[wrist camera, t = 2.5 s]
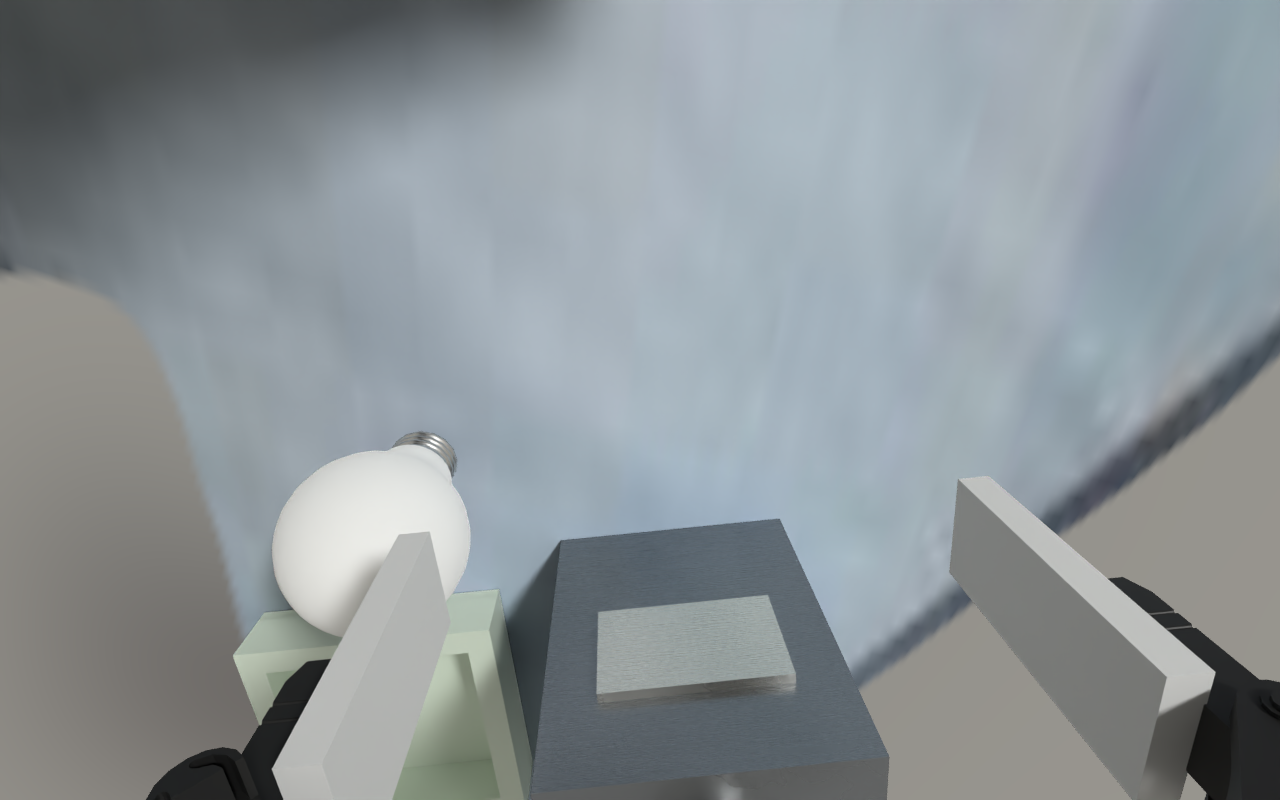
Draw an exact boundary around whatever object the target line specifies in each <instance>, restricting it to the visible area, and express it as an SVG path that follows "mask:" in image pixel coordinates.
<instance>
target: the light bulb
mask: <svg viewBox="0 0 1280 800" xmlns="http://www.w3.org/2000/svg"><path fill="white" fill-rule="evenodd" d="M456 467H457V458H456V455H455V452H454V449H453V448H452V447H451V445H450V444H449V443H448V442H447V441H446V440H445V439H444V438H442V437H440V436H438V435H436V434H434V433H429V432H423V431H419V432H414V433H410V434H406V435H405V436H403V437H402V438H401V439H399V440H398V441H396V443H395V445H393V447H392V449H390V450H388V451H367V452H359V453H356V454H352V455H349V456H346V457H343V458H340V459H337V460H334V461H332V462H330V463H329V464H327V465H325V466H323V467H321V468H320V469H318V470H317V471H316V472H315V473H313V474H312V475H311V476H310V477H308V478H307V479H306V480H305V481H304V482H303V483H302V484H300V485H299V486H298V487H297V489H296V490H295V492H294V493H293V494H292V496H291V497H290V499H289V500H288V502H287V503H286V505H285V506H284V508H283V509H282V512H281V514H280V517H279V519H278V522H277V524H276V528H275V532H274V537H273V545H272V557H273V566H274V573H275V577H276V580H277V583H278V586H279V588H280V590H281V592H282V593H283V595H284V597H285V598H286V600H287V602H288V603H289V604H290V605H291V607H292V608H293V609H294V610H295V611H296V612H297V613H298V614H299V616H300V617H302V618H303V619H304V620H306V621H307V622H308V623H309V624H311V625H313V626H314V627H316V628H318V629H320V630H322V631H324V632H326V633H329V634H332V635H335V636H338V637H343V636H344V635H345V633H346V631H347V629H348V627H349V625H350V624H351V622H352V620H353V618H354V616H355V614H356V612H357V611H358V609H359V607H360V605H361V603H362V601H363V599H364V598H365V596H366V594H367V592H368V590H369V588H370V587H371V585H372V583H373V581H374V579H375V577H376V575H377V574H378V572H379V570H380V568H381V566H382V564H383V562H384V561H385V559H386V557H387V555H388V553H389V551H390V550H391V548H392V546H393V544H394V542H395V540H396V538H397V537H398V535H399V534H409V533H419V532H429V531H430V535H431V539H432V543H433V548H434V552H435V556H436V561H437V565H438V569H439V574H440V578H441V582H442V587H443V591H444V595H445V600H446V601H447V600H448V598H449V597H450V596H451V595H452V594H453V592H454V590H455V588H456V586H457V585H458V583H459V581H460V579H461V577H462V575H463V573H464V571H465V569H466V565H467V561H468V556H469V551H470V539H471V530H470V526H469V521H468V516H467V512H466V508H465V506H464V503H463V501H462V499H461V497H460V495H459V493H458V492H457V491H456V489H455V488H454V487H453V485H452V478H453V476H454V474H455V472H456Z"/></svg>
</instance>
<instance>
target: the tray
mask: <svg viewBox="0 0 1280 800" xmlns="http://www.w3.org/2000/svg"><path fill="white" fill-rule="evenodd" d="M446 604H447V608H448V613H449V617H450V621H451V623H450V626H449V629H448V632H447V635H446V638H445V641H444V644H443V647H442V650H441V653H440V656H439V659H438V662H437V665H436V668H435V672H434V675H433V678H432V681H431V684H430V687H429V690H428V693H427V696H426V699H425V702H424V705H423V708H422V711H421V714H420V717H419V720H418V723H417V726H416V729H415V732H414V735H413V738H412V741H411V744H410V747H409V750H408V753H407V756H406V759H405V762H404V765H403V768H402V771H401V774H400V777H399V780H398V783H397V786H396V789H395V792H394V795H393V798H392V800H528V797H529V789H530V780H531V772H532V764H533V761H532V756H531V750H530V745H529V740H528V735H527V730H526V725H525V720H524V714H523V709H522V704H521V699H520V694H519V689H518V684H517V678H516V673H515V668H514V663H513V658H512V653H511V648H510V642H509V637H508V632H507V627H506V622H505V617H504V612H503V607H502V601H501V596H500V591H499V589H496V590H486V591H476V592H466V593H456V594H452V595H451V596H450V597H449V598H448V600H447V601H446ZM342 638H343V637H338V636H335V635H332V634H329V633H326V632H324V631H322V630H320V629H318V628H316V627H314V626H313V625H311V624H309V623H308V622H307V621H306V620H304V619H303V618H302V617H300V616H299V614H298V613H297V612H296V611H295V610H286V611H276V612H266V613H264V614H263V615H262V617H261V618H260V619H259V621H258V622H257V624H256V625H255V626H254V628H253V629H252V630H251V632H250V633H249V634H248V636H247V637H246V638H245V640H244V641H243V643H242V644H241V645H240V647H239V648H238V649H237V651H236V652H235V653H234V655H233V658H234V661H235V663H236V666H237V668H238V671H239V674H240V676H241V679H242V681H243V684H244V687H245V689H246V692H247V694H248V697H249V700H250V702H251V705H252V707H253V710H254V713H255V715H256V718H257V721H258V723H259V725H262V720H263V718H264V716H265V715H266V713H267V711H268V710H269V708H270V707H272V706H273V701H274V700H275V698H276V696H277V695H278V693H279V691H280V690H281V688H282V686H283V685H284V683H285V682H286V680H288V679H289V678H290V677H291V676H292V675H293V674H294V673H295V672H296V671H297V670H298V669H299V668H301V667H302V666H303V665H304V664H305V663H306V662H307V661H315V660H324V659H332V657H333V655H334V653H335V651H336V649H337V648H338V646H339V644H340V642H341V640H342Z"/></svg>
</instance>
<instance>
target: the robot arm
mask: <svg viewBox="0 0 1280 800" xmlns="http://www.w3.org/2000/svg"><path fill="white" fill-rule="evenodd" d="M949 572H950V574H951V575H952V576H953V577H954V579H955V580H956V581H957V582H958V584H959V585H960V586H961V587H962V589H963V590H964V591H965V592H966V594H967V595H968V596H969V597H970V599H971V600H972V601H973V602H974V604H975V605H976V606H977V607H978V608H979V610H980V611H981V612H982V614H983V615H984V616H985V617H986V618H987V620H988V621H989V622H990V623H991V625H992V626H993V627H994V628H995V629H996V631H997V632H998V633H999V635H1000V636H1001V637H1002V638H1003V640H1004V641H1005V642H1006V643H1007V645H1008V646H1009V647H1010V648H1011V650H1012V651H1013V652H1014V653H1015V655H1016V656H1017V657H1018V658H1019V659H1020V661H1021V662H1022V663H1023V664H1024V666H1025V667H1026V668H1027V669H1028V671H1029V672H1030V673H1031V675H1032V676H1033V677H1034V678H1035V679H1036V681H1037V682H1038V683H1039V684H1040V686H1041V687H1042V688H1043V689H1044V691H1045V692H1046V693H1047V694H1048V696H1049V697H1050V698H1051V699H1052V701H1053V702H1054V703H1055V704H1056V705H1057V707H1058V708H1059V709H1060V710H1061V712H1062V713H1063V714H1064V715H1065V717H1066V718H1067V719H1068V721H1069V722H1070V723H1071V724H1072V726H1073V727H1074V728H1075V729H1076V731H1077V732H1078V733H1079V734H1080V736H1081V737H1082V738H1083V739H1084V741H1085V742H1086V743H1087V744H1088V745H1089V747H1090V748H1091V749H1092V750H1093V752H1094V753H1095V754H1096V755H1097V757H1098V758H1099V759H1100V760H1101V762H1102V763H1103V764H1104V765H1105V767H1106V768H1107V769H1108V770H1109V772H1110V773H1111V774H1112V775H1113V777H1114V778H1115V779H1116V780H1117V782H1118V783H1119V784H1120V785H1121V786H1122V788H1123V789H1124V790H1125V792H1126V793H1127V794H1128V795H1129V797H1131V799H1132V800H1179V799H1180V797H1181V794H1182V791H1183V787H1184V783H1185V780H1186V776H1187V773H1189V774H1190V775H1191V777H1192V778H1193V779H1194V780H1195V781H1196V782H1197V783H1198V784H1199V785H1200V786H1201V787H1202V788H1203V789H1204V791H1206V793H1207V794H1206V797H1205V800H1280V682H1275V681H1271V680H1259V679H1258V678H1257V677H1256V676H1254V675H1253V674H1252V673H1251V672H1249V671H1248V670H1247V669H1246V668H1244V667H1243V666H1242V665H1241V664H1239V663H1238V662H1237V661H1236V660H1235V659H1233V658H1232V657H1231V656H1230V655H1229V654H1227V653H1226V652H1225V651H1224V650H1222V649H1221V648H1220V647H1219V646H1218V645H1216V644H1215V643H1214V642H1213V641H1211V640H1210V639H1209V638H1208V637H1206V636H1205V635H1204V634H1203V633H1202V632H1201V631H1199V630H1198V629H1197V628H1193V627H1192V625H1191V623H1189V622H1188V621H1187V620H1186V619H1185V618H1183V617H1182V616H1181V615H1180V614H1178V613H1174V610H1173V609H1172V608H1171V607H1170V606H1169V605H1167V604H1166V603H1165V602H1164V601H1162V600H1161V599H1160V598H1159V597H1158V596H1156V595H1155V594H1154V593H1153V592H1151V591H1149V590H1147V589H1145V588H1143V587H1141V586H1139V585H1137V584H1135V583H1133V582H1131V581H1129V580H1128V579H1125V578H1123V577H1120V578H1110V579H1107V578H1106V577H1105V576H1104V575H1102V574H1101V573H1100V572H1099V571H1098V570H1097V569H1096V568H1094V567H1093V566H1092V565H1091V564H1090V563H1089V562H1087V561H1086V560H1085V559H1084V558H1083V557H1082V556H1081V555H1079V554H1078V553H1077V552H1076V551H1075V550H1073V549H1072V548H1071V547H1070V546H1069V545H1068V544H1067V543H1065V542H1064V541H1063V540H1062V539H1061V538H1060V537H1059V536H1057V535H1056V534H1055V533H1054V532H1053V531H1052V530H1050V529H1049V528H1048V527H1047V526H1046V525H1045V524H1044V523H1042V522H1041V521H1040V520H1039V519H1038V518H1037V517H1035V516H1034V515H1033V514H1032V513H1031V512H1030V511H1029V510H1027V509H1026V508H1025V507H1024V506H1023V505H1022V504H1020V503H1019V502H1018V501H1017V500H1016V499H1015V498H1013V497H1012V496H1011V495H1010V494H1009V493H1008V492H1007V491H1005V490H1004V489H1003V488H1002V487H1001V486H1000V485H998V484H997V483H996V482H995V481H994V480H993V479H991V478H990V477H989V476H984V477H974V478H964V479H958V485H957V496H956V507H955V517H954V528H953V539H952V550H951V560H950V571H949ZM450 623H451V621H450V617H449V613H448V608H447V604H446V600H445V595H444V591H443V587H442V582H441V578H440V574H439V569H438V565H437V561H436V556H435V552H434V548H433V543H432V539H431V535H430V531H429V532H419V533H409V534H399V535H398V537H397V538H396V540H395V542H394V544H393V546H392V548H391V550H390V551H389V553H388V555H387V557H386V559H385V561H384V562H383V564H382V566H381V568H380V570H379V572H378V574H377V575H376V577H375V579H374V581H373V583H372V585H371V587H370V588H369V590H368V592H367V594H366V596H365V598H364V599H363V601H362V603H361V605H360V607H359V609H358V611H357V612H356V614H355V616H354V618H353V620H352V622H351V624H350V625H349V627H348V629H347V631H346V633H345V635H344V636H343V638H342V640H341V642H340V644H339V646H338V648H337V649H336V651H335V653H334V655H333V657H332V659H324V660H315V661H307V662H306V663H305V664H304V665H303V666H302V667H301V668H299V669H298V670H297V671H296V672H295V673H294V674H293V675H292V676H291V677H290V678H289V679H288V680H286V682H285V683H284V685H283V686H282V688H281V690H280V691H279V693H278V695H277V696H276V698H275V700H274V701H273V706H272V707H270V708H269V710H268V711H267V713H266V715H265V716H264V718H263V720H262V725H259V726H258V728H257V730H256V732H255V733H254V735H253V736H252V738H251V740H250V741H249V743H248V744H247V746H246V748H245V750H244V751H243V753H242V754H240V753H239V752H238V751H237V750H236V749H230V748H223V747H222V748H217V749H211V750H207V751H204V752H201V753H199V754H197V755H194V756H192V757H190V758H187V759H186V760H185V761H183V762H182V763H180V764H178V765H177V766H176V767H174V768H173V769H171V770H170V771H168V772H167V773H166V774H165V775H164V776H163V777H162V778H161V779H160V780H159V781H158V782H157V783H156V784H155V785H154V787H153V789H152V790H151V792H150V794H149V795H148V798H147V799H146V800H392V798H393V795H394V792H395V789H396V786H397V783H398V780H399V777H400V774H401V771H402V768H403V765H404V762H405V759H406V756H407V753H408V750H409V747H410V744H411V741H412V738H413V735H414V732H415V729H416V726H417V723H418V720H419V717H420V714H421V711H422V708H423V705H424V702H425V699H426V696H427V693H428V690H429V687H430V684H431V681H432V678H433V675H434V672H435V668H436V665H437V662H438V659H439V656H440V653H441V650H442V647H443V644H444V641H445V638H446V635H447V632H448V629H449V626H450Z"/></svg>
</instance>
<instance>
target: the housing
mask: <svg viewBox="0 0 1280 800" xmlns="http://www.w3.org/2000/svg"><path fill="white" fill-rule="evenodd" d="M888 770H889V755H888V753H887V751H886V748H885V746H884V744H883V742H882V740H881V738H880V735H879V733H878V731H877V729H876V727H875V725H874V723H873V721H872V718H871V716H870V714H869V712H868V710H867V707H866V705H865V703H864V701H863V699H862V696H861V694H860V692H859V690H858V688H857V686H856V683H855V681H854V679H853V677H852V675H851V673H850V670H849V668H848V666H847V664H846V662H845V660H844V657H843V655H842V653H841V651H840V649H839V647H838V644H837V642H836V640H835V638H834V636H833V634H832V631H831V629H830V627H829V625H828V623H827V621H826V618H825V616H824V614H823V612H822V610H821V608H820V605H819V603H818V601H817V599H816V597H815V595H814V592H813V590H812V588H811V586H810V584H809V582H808V579H807V577H806V575H805V573H804V571H803V569H802V566H801V564H800V562H799V560H798V558H797V556H796V553H795V551H794V549H793V547H792V545H791V543H790V540H789V538H788V536H787V534H786V532H785V530H784V527H783V525H782V523H781V521H780V519H773V520H763V521H753V522H743V523H733V524H723V525H713V526H703V527H693V528H683V529H673V530H663V531H653V532H643V533H633V534H623V535H613V536H602V537H592V538H582V539H572V540H562V541H561V544H560V553H559V561H558V569H557V578H556V586H555V594H554V603H553V611H552V619H551V628H550V636H549V645H548V653H547V661H546V670H545V678H544V686H543V695H542V703H541V712H540V720H539V728H538V737H537V745H536V753H535V762H534V770H533V779H532V787H531V798H532V800H887V786H888Z"/></svg>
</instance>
